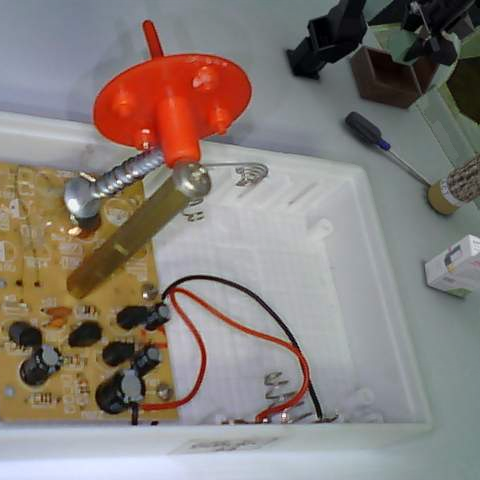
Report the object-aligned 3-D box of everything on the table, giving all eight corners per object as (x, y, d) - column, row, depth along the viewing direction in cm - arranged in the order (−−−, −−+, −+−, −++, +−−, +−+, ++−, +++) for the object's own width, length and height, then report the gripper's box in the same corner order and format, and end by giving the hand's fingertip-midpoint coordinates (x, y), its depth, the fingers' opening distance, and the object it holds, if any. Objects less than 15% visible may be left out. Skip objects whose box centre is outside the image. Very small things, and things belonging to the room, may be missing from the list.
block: (393, 61, 159) (408, 46, 156) (387, 44, 161) (402, 29, 158) (410, 66, 161) (425, 51, 158) (404, 49, 163) (419, 34, 160)
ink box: (459, 276, 151) (519, 239, 139) (462, 298, 148) (524, 263, 137) (423, 262, 148) (481, 224, 137) (425, 285, 145) (485, 248, 134)
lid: (444, 50, 154) (468, 49, 155) (428, 10, 159) (453, 9, 160) (421, 94, 166) (445, 92, 167) (408, 56, 171) (430, 54, 172)
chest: (361, 98, 165) (375, 84, 161) (349, 59, 170) (363, 44, 166) (406, 109, 170) (422, 95, 166) (394, 71, 175) (408, 57, 171)
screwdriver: (443, 190, 162) (456, 180, 159) (440, 201, 160) (454, 192, 157) (342, 117, 159) (354, 105, 156) (338, 127, 157) (350, 116, 154)
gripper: (503, 44, 147) (444, 95, 159) (473, -27, 156) (419, 27, 168) (459, 30, 143) (401, 84, 155) (430, -42, 152) (378, 14, 164)
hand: (401, 52), depth 160 cm, fingers closed on block, 4 cm apart
